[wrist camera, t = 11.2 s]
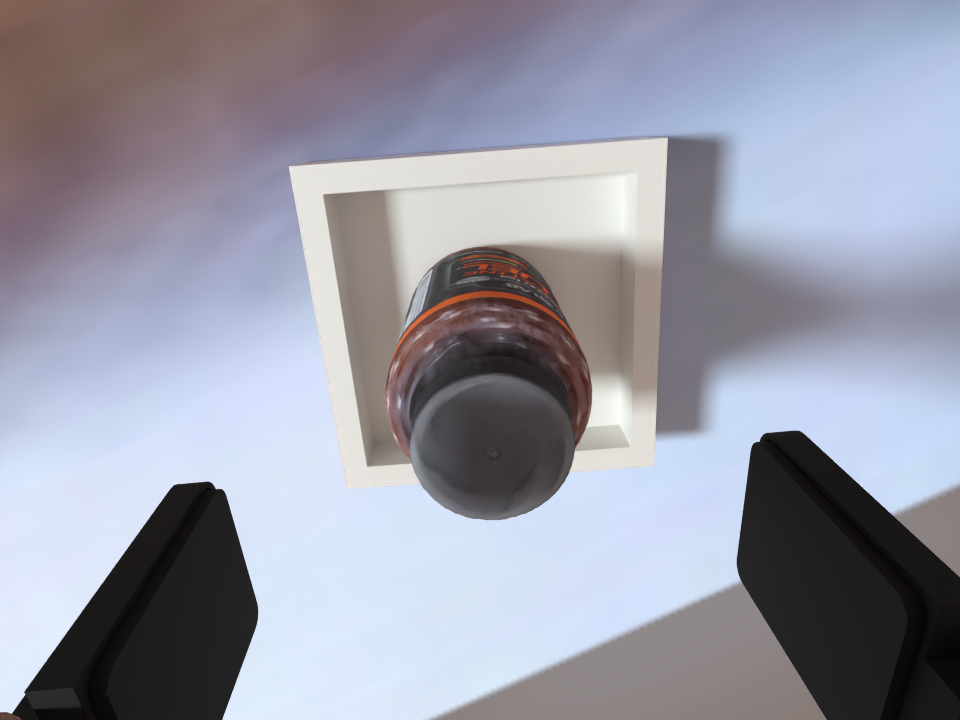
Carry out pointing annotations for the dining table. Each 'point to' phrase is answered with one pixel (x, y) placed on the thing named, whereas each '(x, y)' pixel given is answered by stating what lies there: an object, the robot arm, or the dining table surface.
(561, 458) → the supplement bottle
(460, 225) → the tray
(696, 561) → the dining table surface
